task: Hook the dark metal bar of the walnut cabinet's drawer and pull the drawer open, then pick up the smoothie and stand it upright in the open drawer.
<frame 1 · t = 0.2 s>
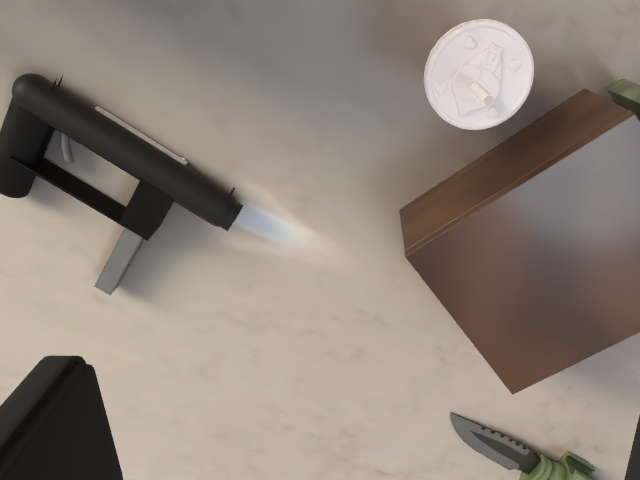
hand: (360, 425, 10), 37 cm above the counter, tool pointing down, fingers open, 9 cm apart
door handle: (113, 196, 49), on the counter
drawer: (613, 207, 41), point 4 cm above the counter, slide at 1.0 cm
knife: (525, 449, 57), on the counter
cabinet: (533, 221, 47), on the counter
smoothie: (456, 57, 42), on the counter
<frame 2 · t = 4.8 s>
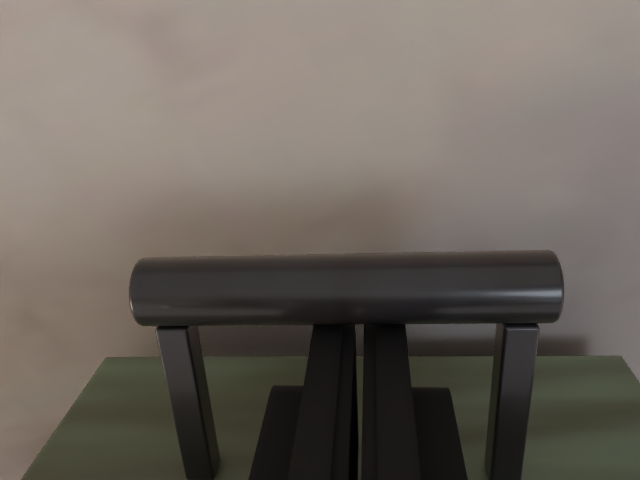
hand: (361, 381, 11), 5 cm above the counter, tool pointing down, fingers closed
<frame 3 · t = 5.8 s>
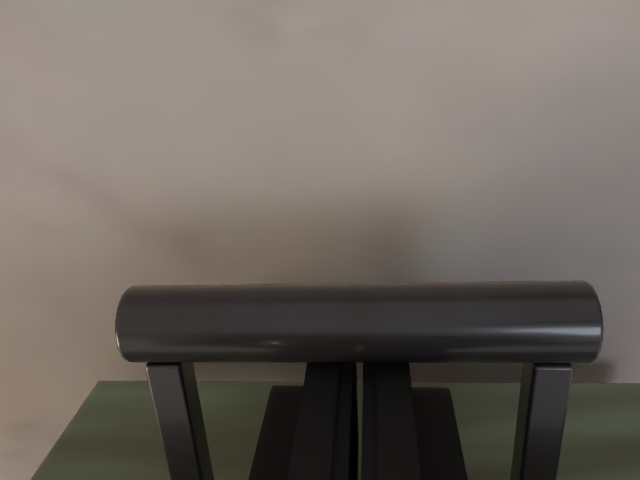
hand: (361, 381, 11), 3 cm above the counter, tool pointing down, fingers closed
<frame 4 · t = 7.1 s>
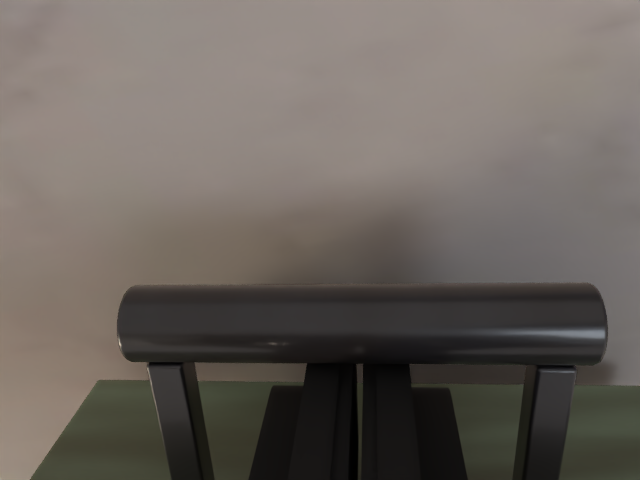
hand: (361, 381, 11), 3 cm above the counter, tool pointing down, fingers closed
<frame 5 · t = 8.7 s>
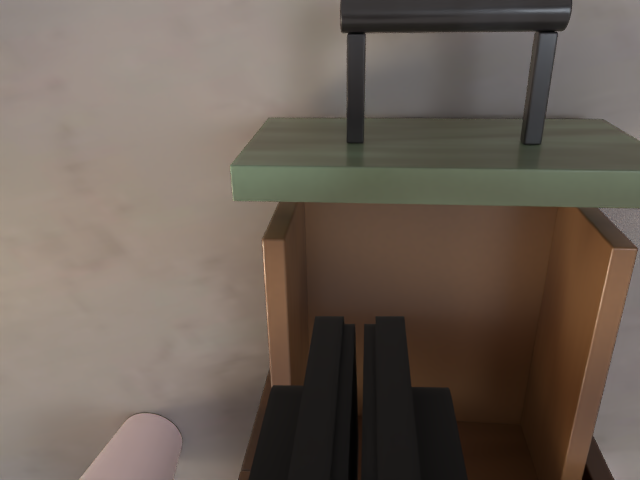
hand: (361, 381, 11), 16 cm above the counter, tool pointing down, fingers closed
drawer: (430, 273, 22), point 4 cm above the counter, slide at 11.6 cm
cabinet: (405, 477, 33), on the counter
smoothie: (153, 434, 33), on the counter
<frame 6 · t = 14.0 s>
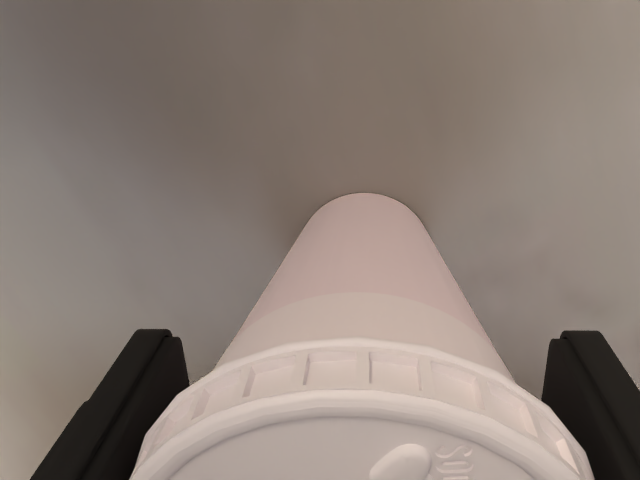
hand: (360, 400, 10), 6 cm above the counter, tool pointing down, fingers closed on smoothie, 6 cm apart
smoothie: (364, 251, 16), on the counter, touching gripper
when the fingers open (8 cm above the counter, at t = 22.7 s): smoothie stays where it is, resting on drawer.
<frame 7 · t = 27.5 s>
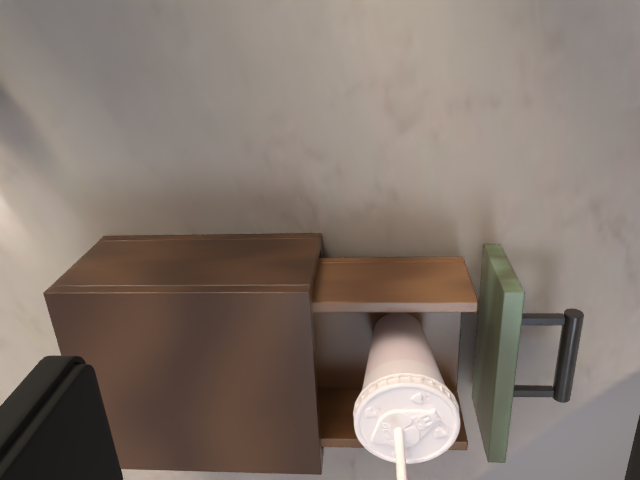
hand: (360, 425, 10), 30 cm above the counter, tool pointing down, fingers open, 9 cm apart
drawer: (424, 351, 40), point 4 cm above the counter, slide at 11.6 cm, touching smoothie
cabinet: (222, 318, 45), on the counter
smoothie: (398, 331, 42), point 2 cm above the counter, touching drawer
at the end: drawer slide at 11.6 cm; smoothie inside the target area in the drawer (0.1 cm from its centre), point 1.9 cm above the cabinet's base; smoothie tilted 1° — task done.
